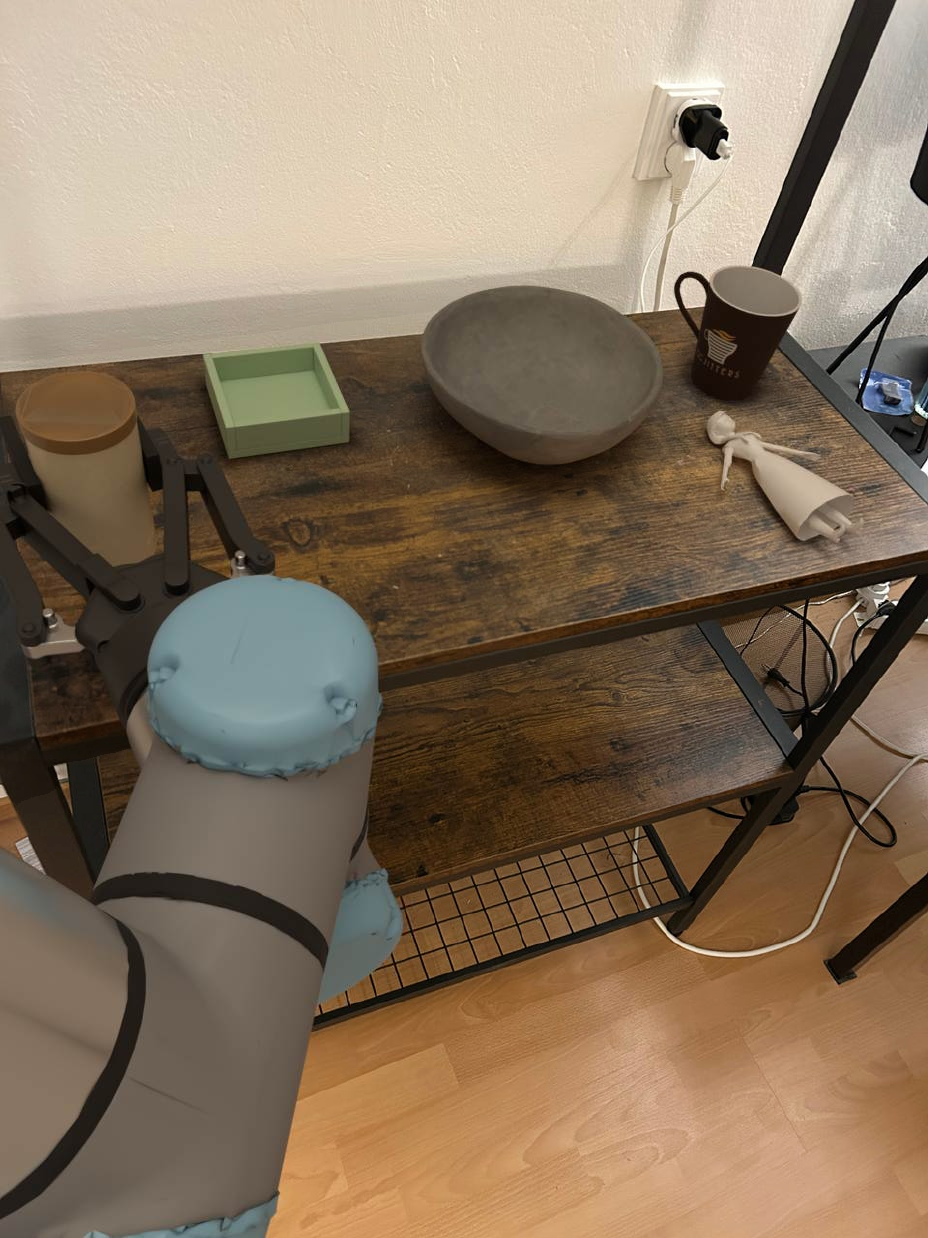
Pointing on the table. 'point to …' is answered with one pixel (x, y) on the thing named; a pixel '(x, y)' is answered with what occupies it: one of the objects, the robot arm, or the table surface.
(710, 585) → the table surface
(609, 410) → the bowl
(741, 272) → the coffee mug
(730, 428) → the woman figurine
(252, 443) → the bin
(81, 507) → the tea tin
